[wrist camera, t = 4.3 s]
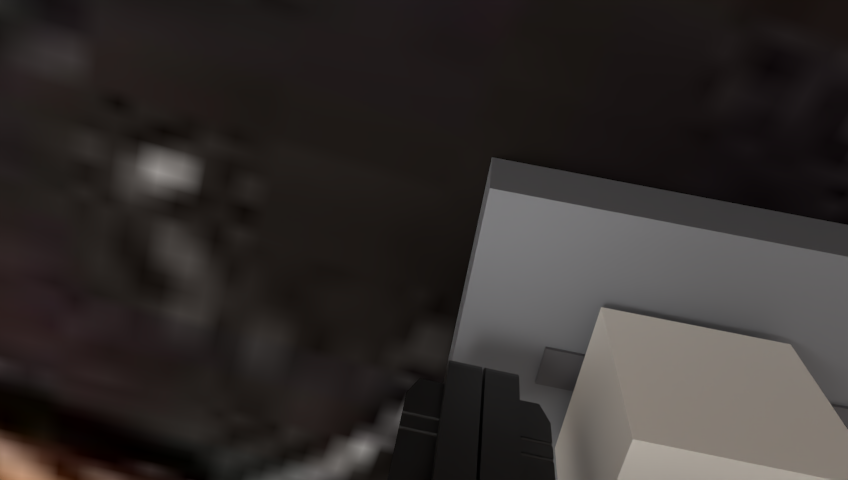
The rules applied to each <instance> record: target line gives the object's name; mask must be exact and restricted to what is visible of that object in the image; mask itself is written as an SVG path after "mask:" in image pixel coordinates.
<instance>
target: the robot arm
mask: <svg viewBox="0 0 848 480" xmlns="http://www.w3.org/2000/svg"><path fill="white" fill-rule="evenodd" d="M482 371H483V372H482ZM553 459H554V456H553V447H552V433H551V423H550V421H549V420H548V418H547V416H546V414H545V413H544V411H543V409H542V408H541V406H540V404H537V403H532V402H528V401H523V400H520V388H519V375H518V374H513V373H508V372H504V371H499V370H494V369H490V368H484V369H482V367H480V366H475V365H471V364H466V363H461V362H457V361H452V360H449V361H448V364H447V368H446V372H445V376H444V381H443V383H439V382H434V381H430V380H425V379H421V378H420V379H419V380H418V381H417V382H416V383H415V384H414V385H413V386H412V387H411V388H410V389H409V390H408V391H407V393H406V398H405V402H404V407H403V411H402V416H401V421H400V425H399V430H398V434H397V439H396V444H395V448H394V453H393V457H392V462H391V467H390V471H389V476H388V480H555V468H554V463H553Z"/></svg>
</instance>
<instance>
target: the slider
mask: <svg viewBox="0 0 848 480" xmlns="http://www.w3.org/2000/svg"><path fill="white" fill-rule="evenodd" d="M555 456H556V468H557V479H558V480H848V429H847V428H846V426H845V425H844V423H843V422H842V420H841V419H840V417H839V416H838V414H837V413H836V411H835V410H834V408H833V407H832V405H831V404H830V402H829V401H828V399H827V398H826V396H825V395H824V393H823V392H822V390H821V389H820V387H819V386H818V384H817V383H816V382H815V380H814V379H813V377H812V376H811V374H810V373H809V371H808V370H807V368H806V367H805V365H804V364H803V362H802V361H801V359H800V358H799V356H798V355H797V353H796V352H795V350H794V349H793V347H792V346H791V344H786V343H781V342H776V341H771V340H766V339H761V338H756V337H751V336H746V335H741V334H736V333H731V332H726V331H721V330H715V329H710V328H705V327H700V326H695V325H690V324H685V323H680V322H675V321H670V320H665V319H660V318H655V317H649V316H644V315H639V314H634V313H629V312H624V311H619V310H614V309H609V308H604V307H601V309H600V312H599V315H598V318H597V321H596V324H595V327H594V330H593V333H592V336H591V339H590V342H589V345H588V348H587V351H586V354H585V358H584V361H583V364H582V367H581V370H580V373H579V376H578V379H577V382H576V385H575V388H574V391H573V394H572V397H571V400H570V403H569V406H568V409H567V412H566V415H565V418H564V421H563V425H562V428H561V431H560V434H559V437H558V440H557V443H556V446H555Z"/></svg>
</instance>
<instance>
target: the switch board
mask: <svg viewBox="0 0 848 480" xmlns="http://www.w3.org/2000/svg"><path fill="white" fill-rule="evenodd" d="M601 307H604V308H609V309H614V310H619V311H624V312H629V313H634V314H639V315H644V316H649V317H655V318H660V319H665V320H670V321H675V322H680V323H685V324H690V325H695V326H700V327H705V328H710V329H715V330H721V331H726V332H731V333H736V334H741V335H746V336H751V337H756V338H761V339H766V340H771V341H776V342H781V343H786V344H791V346H792V347H793V349H794V350H795V352H796V353H797V355H798V356H799V358H800V359H801V361H802V362H803V364H804V365H805V367H806V368H807V370H808V371H809V373H810V374H811V376H812V377H813V379H814V380H815V382H816V383H817V384H818V386H819V387H820V389H821V390H822V392H823V393H824V395H825V396H826V398H827V399H828V401H829V402H830V404H831V405H832V407H833V408H834V410H835V411H836V413H837V414H838V416H839V417H840V419H841V420H842V422H843V423H844V425H845V426H846V428H847V429H848V225H846V224H840V223H835V222H830V221H825V220H819V219H814V218H809V217H804V216H798V215H793V214H788V213H783V212H777V211H772V210H767V209H762V208H756V207H751V206H746V205H741V204H735V203H730V202H725V201H720V200H714V199H709V198H704V197H698V196H693V195H688V194H683V193H677V192H672V191H667V190H662V189H656V188H651V187H646V186H641V185H635V184H630V183H625V182H620V181H614V180H609V179H604V178H599V177H593V176H588V175H583V174H578V173H572V172H567V171H562V170H557V169H551V168H546V167H541V166H536V165H530V164H525V163H520V162H515V161H509V160H504V159H499V158H494V157H492V159H491V164H490V169H489V173H488V178H487V183H486V187H485V192H484V196H483V201H482V206H481V210H480V215H479V220H478V224H477V229H476V234H475V238H474V243H473V247H472V252H471V257H470V261H469V266H468V271H467V275H466V280H465V285H464V289H463V294H462V298H461V303H460V308H459V312H458V317H457V322H456V326H455V331H454V336H453V340H452V345H451V349H450V354H449V359H448V361H449V360H452V361H457V362H461V363H466V364H471V365H475V366H480V367H482V369H484V368H490V369H494V370H499V371H504V372H508V373H513V374H518V375H519V388H520V400H523V401H528V402H532V403H537V404H540V406H541V408H542V409H543V411H544V413H545V414H546V416H547V418H548V420H549V421H550V423H551V433H552V447H553V456H554V459H553V463H554V468H555V480H558V479H557V468H556V456H555V446H556V443H557V440H558V437H559V434H560V431H561V428H562V425H563V421H564V418H565V415H566V412H567V409H568V406H569V403H570V400H571V397H572V394H573V391H574V388H575V385H576V382H577V379H578V376H579V373H580V370H581V367H582V364H583V361H584V358H585V354H586V351H587V348H588V345H589V342H590V339H591V336H592V333H593V330H594V327H595V324H596V321H597V318H598V315H599V312H600V309H601ZM447 364H448V363H447ZM482 372H483V371H482Z"/></svg>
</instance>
